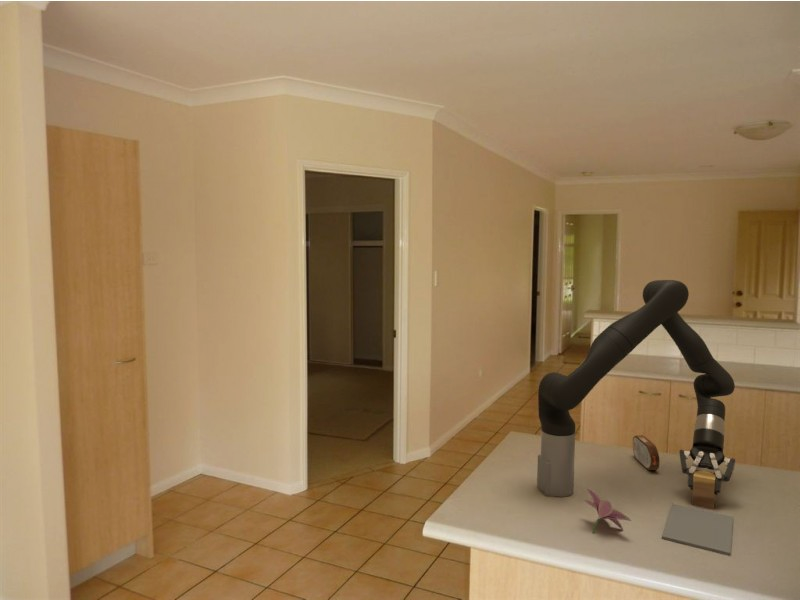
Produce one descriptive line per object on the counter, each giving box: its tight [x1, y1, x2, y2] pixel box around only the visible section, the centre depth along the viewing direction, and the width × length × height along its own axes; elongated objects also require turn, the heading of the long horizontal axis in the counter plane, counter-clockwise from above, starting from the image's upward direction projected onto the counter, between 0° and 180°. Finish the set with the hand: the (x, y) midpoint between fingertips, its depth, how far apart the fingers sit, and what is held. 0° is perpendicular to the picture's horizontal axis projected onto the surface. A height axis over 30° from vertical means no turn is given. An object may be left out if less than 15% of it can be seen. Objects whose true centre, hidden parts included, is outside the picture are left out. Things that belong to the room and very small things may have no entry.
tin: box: [632, 434, 661, 471], centre depth 179 cm, size 15×3×8 cm, turn 179°
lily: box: [583, 486, 632, 534], centre depth 138 cm, size 12×12×10 cm
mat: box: [661, 503, 734, 556], centre depth 139 cm, size 20×14×1 cm
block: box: [691, 469, 716, 510], centre depth 152 cm, size 5×5×8 cm
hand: (703, 490), depth 150 cm, fingers closed on block, 5 cm apart
